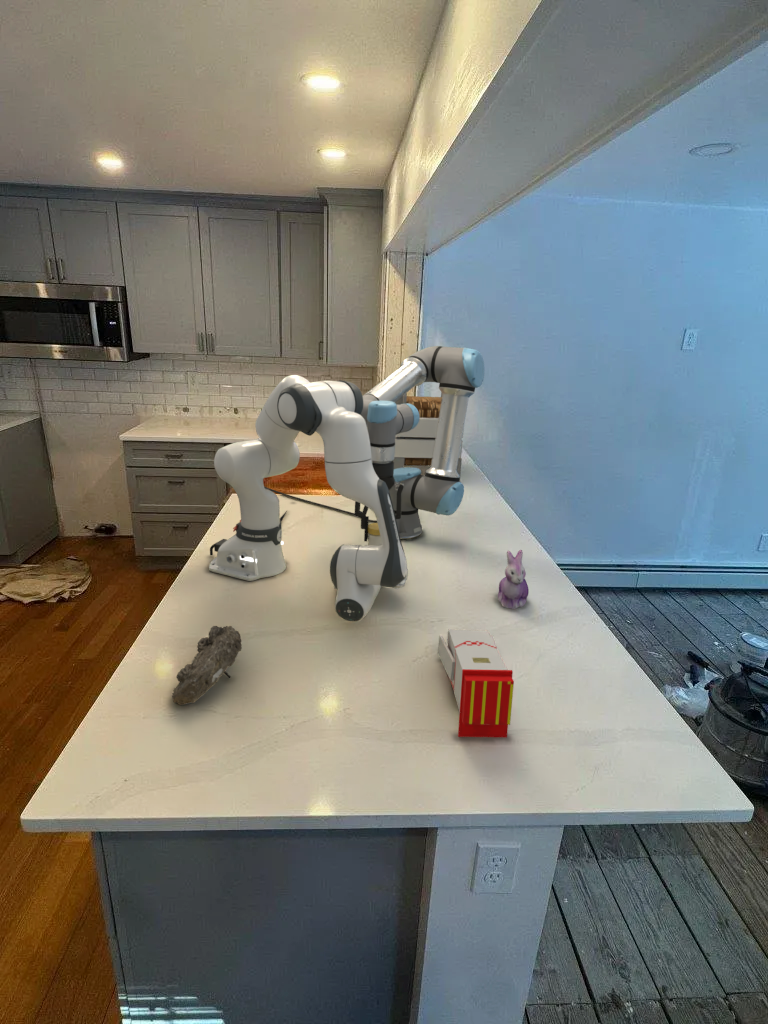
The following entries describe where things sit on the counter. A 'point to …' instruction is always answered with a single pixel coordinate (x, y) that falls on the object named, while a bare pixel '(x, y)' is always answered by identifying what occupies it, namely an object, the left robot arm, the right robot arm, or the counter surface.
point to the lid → (373, 529)
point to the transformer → (420, 434)
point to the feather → (282, 516)
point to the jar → (374, 539)
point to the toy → (478, 682)
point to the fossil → (207, 664)
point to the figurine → (513, 583)
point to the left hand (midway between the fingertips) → (376, 560)
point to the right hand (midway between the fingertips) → (376, 540)
